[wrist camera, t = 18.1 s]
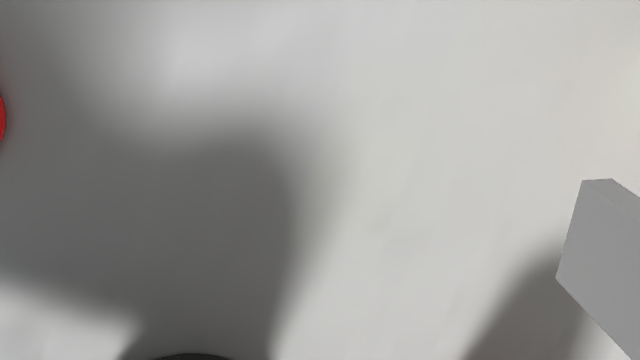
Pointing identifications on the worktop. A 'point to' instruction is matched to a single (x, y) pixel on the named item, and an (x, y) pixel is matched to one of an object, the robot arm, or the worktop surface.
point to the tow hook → (2, 119)
